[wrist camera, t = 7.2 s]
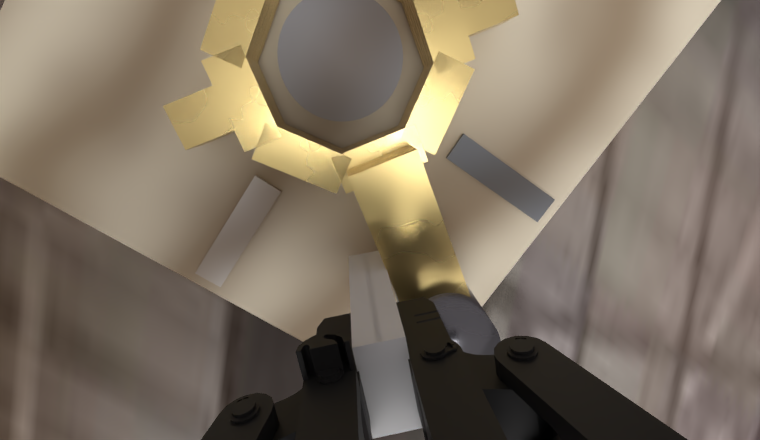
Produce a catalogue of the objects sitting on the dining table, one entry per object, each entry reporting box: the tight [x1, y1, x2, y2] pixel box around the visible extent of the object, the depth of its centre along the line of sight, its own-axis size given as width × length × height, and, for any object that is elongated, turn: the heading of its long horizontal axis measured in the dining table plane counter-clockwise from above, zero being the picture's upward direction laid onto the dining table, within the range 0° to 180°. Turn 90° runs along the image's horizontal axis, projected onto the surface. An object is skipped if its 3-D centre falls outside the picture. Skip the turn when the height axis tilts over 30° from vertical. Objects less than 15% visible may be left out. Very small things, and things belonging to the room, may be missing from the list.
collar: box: [163, 0, 519, 355], centre depth 15 cm, size 12×16×5 cm
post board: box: [0, 0, 721, 342], centre depth 16 cm, size 22×22×5 cm
